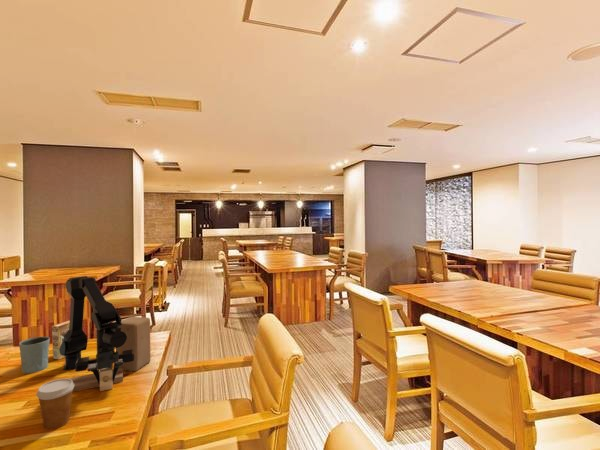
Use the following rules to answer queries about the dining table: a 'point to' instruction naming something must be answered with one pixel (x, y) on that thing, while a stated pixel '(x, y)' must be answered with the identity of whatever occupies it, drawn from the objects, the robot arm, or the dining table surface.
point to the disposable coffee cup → (55, 402)
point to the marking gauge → (106, 378)
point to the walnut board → (92, 380)
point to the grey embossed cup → (34, 354)
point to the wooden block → (136, 342)
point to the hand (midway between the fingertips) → (106, 382)
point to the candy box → (59, 337)
